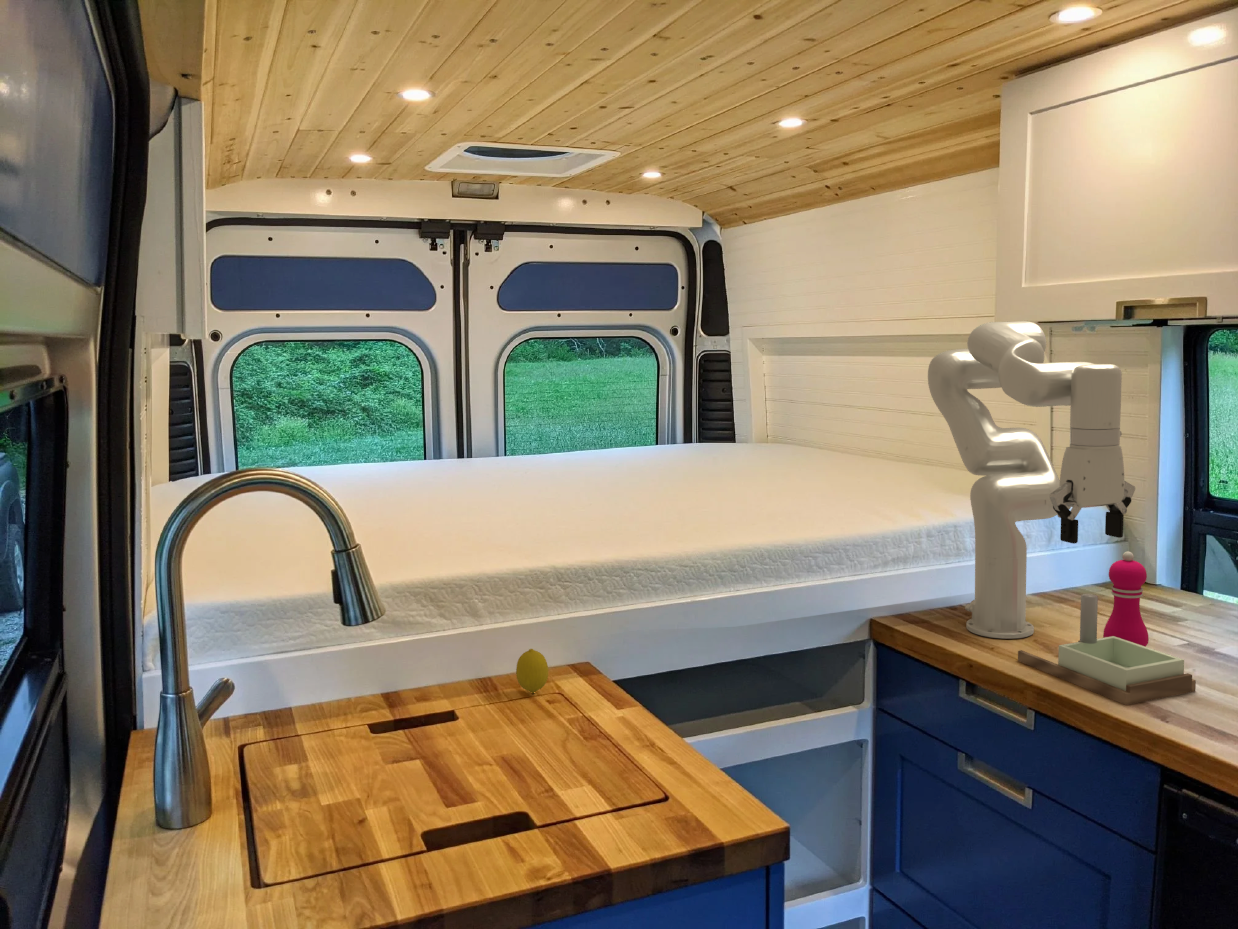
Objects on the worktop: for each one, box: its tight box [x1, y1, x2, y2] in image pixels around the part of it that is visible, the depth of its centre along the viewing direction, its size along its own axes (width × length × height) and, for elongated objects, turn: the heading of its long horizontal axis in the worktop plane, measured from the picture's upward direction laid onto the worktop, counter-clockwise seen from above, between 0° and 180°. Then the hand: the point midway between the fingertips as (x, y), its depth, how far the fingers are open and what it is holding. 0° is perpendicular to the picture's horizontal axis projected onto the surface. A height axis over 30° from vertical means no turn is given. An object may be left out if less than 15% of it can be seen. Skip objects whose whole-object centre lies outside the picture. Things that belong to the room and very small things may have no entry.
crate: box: [1057, 593, 1185, 691], centre depth 160 cm, size 15×12×13 cm
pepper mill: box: [1102, 550, 1150, 647], centre depth 172 cm, size 7×7×20 cm
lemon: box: [515, 648, 549, 694], centre depth 167 cm, size 6×6×8 cm
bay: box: [1017, 639, 1197, 706], centre depth 163 cm, size 23×14×4 cm, turn 19°
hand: (1091, 539), depth 164 cm, fingers open, 9 cm apart
